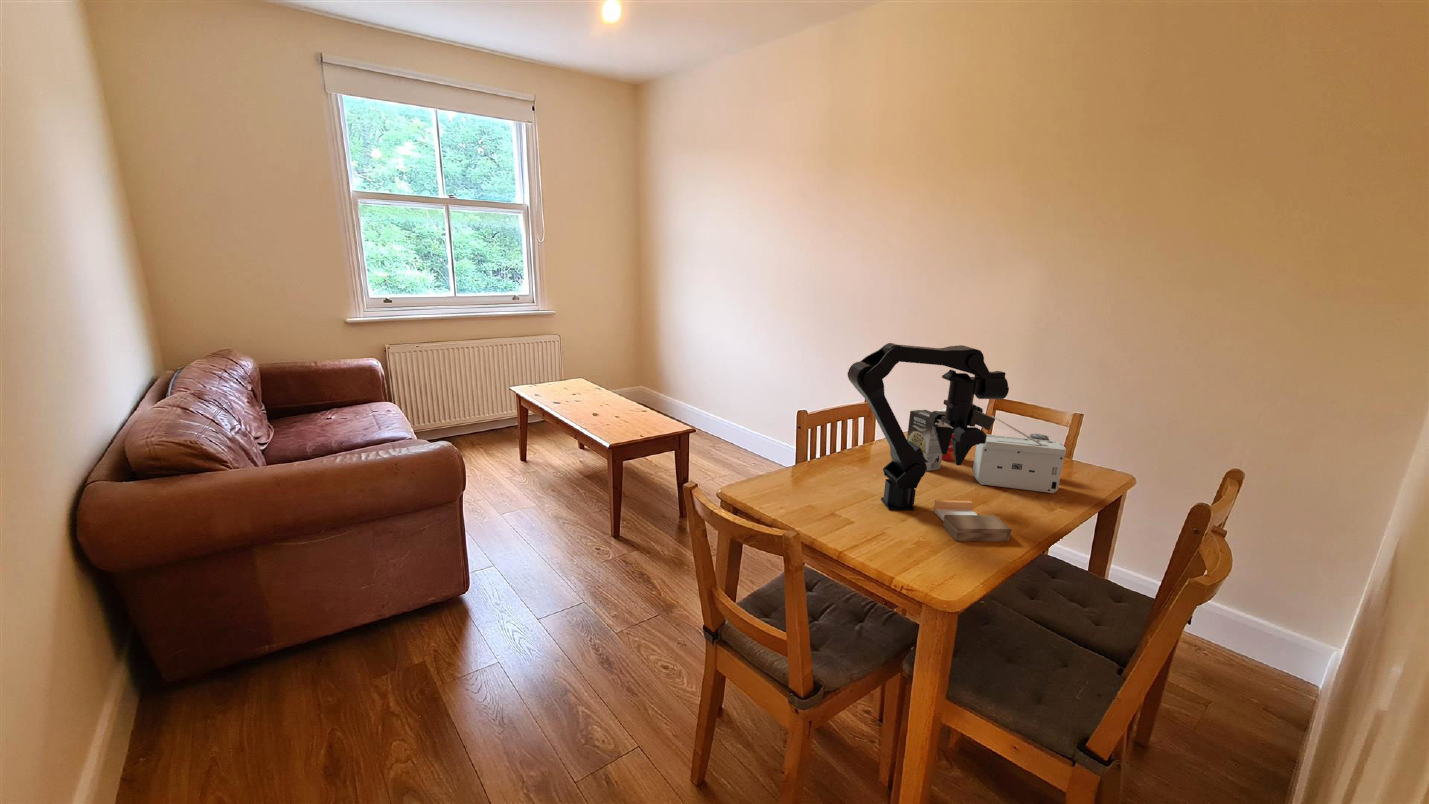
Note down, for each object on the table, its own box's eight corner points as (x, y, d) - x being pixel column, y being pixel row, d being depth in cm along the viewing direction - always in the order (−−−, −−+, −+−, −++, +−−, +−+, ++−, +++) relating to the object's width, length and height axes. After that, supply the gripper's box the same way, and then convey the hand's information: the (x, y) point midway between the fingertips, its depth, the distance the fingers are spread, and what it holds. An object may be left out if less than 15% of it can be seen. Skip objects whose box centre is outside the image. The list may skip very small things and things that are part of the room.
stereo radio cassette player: (1051, 485, 159) (1064, 416, 154) (1060, 496, 152) (1074, 424, 147) (971, 475, 165) (981, 408, 160) (975, 486, 157) (986, 416, 152)
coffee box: (902, 461, 174) (909, 410, 170) (918, 459, 177) (925, 408, 173) (925, 471, 166) (932, 418, 162) (941, 469, 169) (948, 416, 165)
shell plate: (947, 526, 132) (949, 514, 132) (933, 511, 140) (934, 500, 139) (985, 527, 133) (987, 515, 132) (969, 512, 141) (970, 500, 140)
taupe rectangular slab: (956, 541, 125) (957, 528, 124) (942, 526, 132) (944, 514, 131) (1009, 541, 126) (1011, 529, 125) (993, 527, 132) (995, 515, 132)
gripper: (1014, 409, 129) (1002, 474, 133) (974, 390, 147) (965, 448, 151) (966, 408, 128) (955, 473, 132) (932, 389, 146) (923, 447, 150)
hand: (951, 459), depth 141 cm, fingers open, 8 cm apart
